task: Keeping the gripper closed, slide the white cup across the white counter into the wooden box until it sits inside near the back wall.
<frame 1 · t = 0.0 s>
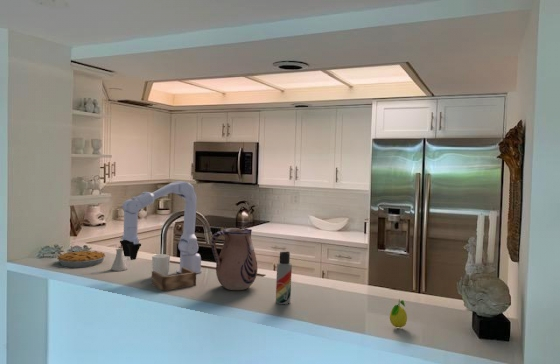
hand: (129, 257, 189), 10 cm above the counter, tool pointing down, fingers open, 7 cm apart
pie: (81, 263, 219), on the counter
lotion bottle: (283, 302, 167), on the counter
wooden box: (173, 284, 186), on the counter
flask: (119, 270, 208), on the counter
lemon: (397, 329, 144), on the counter
white cup: (160, 278, 196), on the counter
ceramic pitcher: (233, 289, 183), on the counter
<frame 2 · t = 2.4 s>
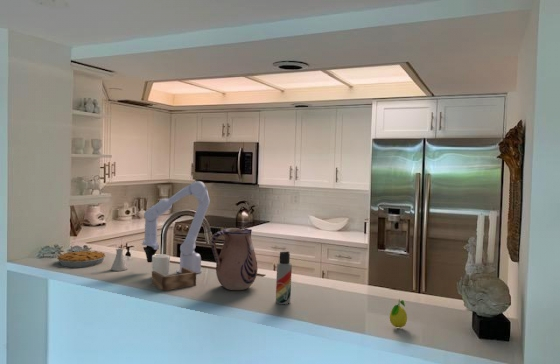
hand: (150, 262, 205), 5 cm above the counter, tool pointing down, fingers closed
nothing on the counter moved.
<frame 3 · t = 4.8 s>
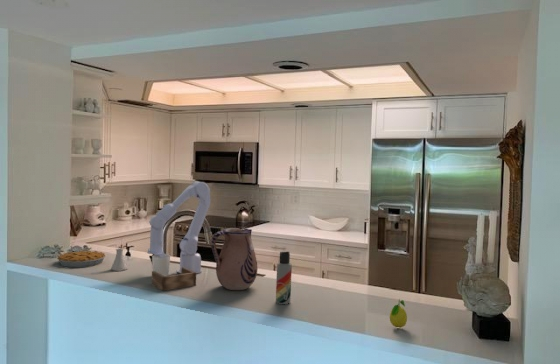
hand: (155, 270, 200), 2 cm above the counter, tool pointing down, fingers closed, pressing on white cup
white cup: (160, 277, 196), on the counter, touching gripper
everything else where it was.
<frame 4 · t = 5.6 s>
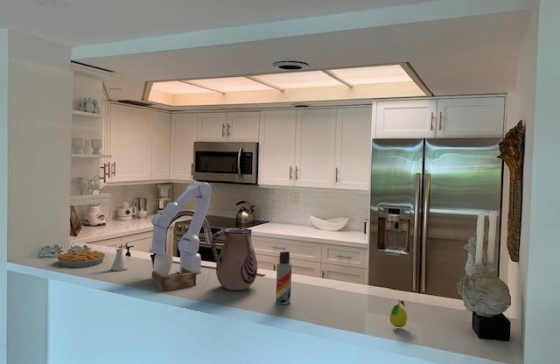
hand: (155, 270, 196), 3 cm above the counter, tool pointing down, fingers closed, pressing on white cup
white cup: (159, 277, 195), point 1 cm above the counter, touching gripper
everything else where it was.
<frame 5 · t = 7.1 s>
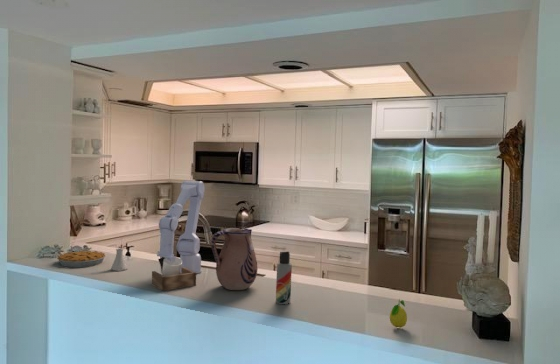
hand: (164, 274, 190), 3 cm above the counter, tool pointing down, fingers closed, pressing on white cup
white cup: (169, 281, 189), resting in wooden box, touching gripper
everything else where it was.
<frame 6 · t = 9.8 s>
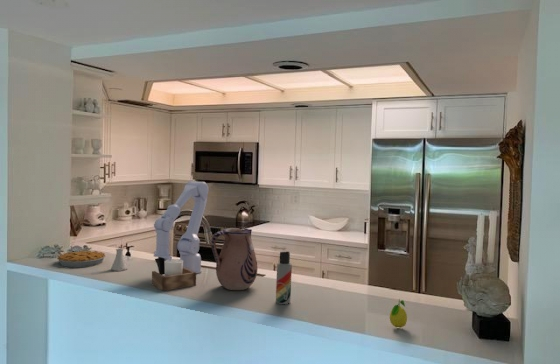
hand: (162, 274, 195), 2 cm above the counter, tool pointing down, fingers closed
white cup: (173, 284, 187), resting in wooden box
everything else where it was.
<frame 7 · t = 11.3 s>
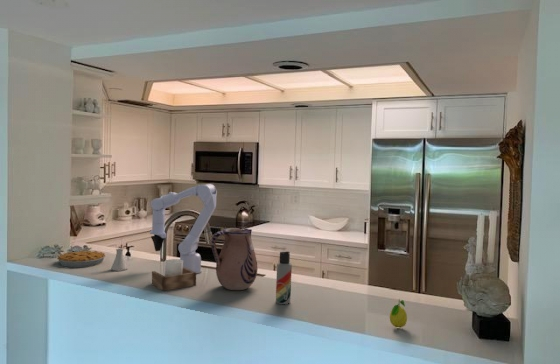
hand: (157, 250, 209), 9 cm above the counter, tool pointing down, fingers closed
nothing on the counter moved.
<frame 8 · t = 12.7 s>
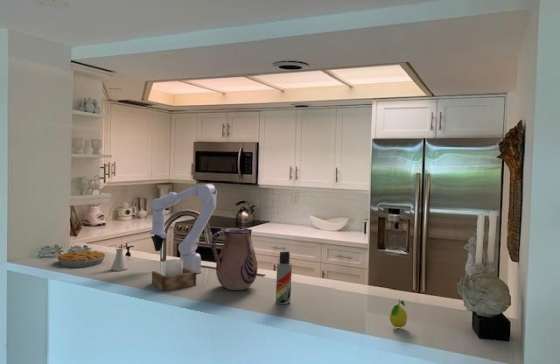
hand: (157, 250, 209), 9 cm above the counter, tool pointing down, fingers closed
nothing on the counter moved.
at the end: white cup 2.0 cm from the target spot, resting in wooden box; white cup tilted 0° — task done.
